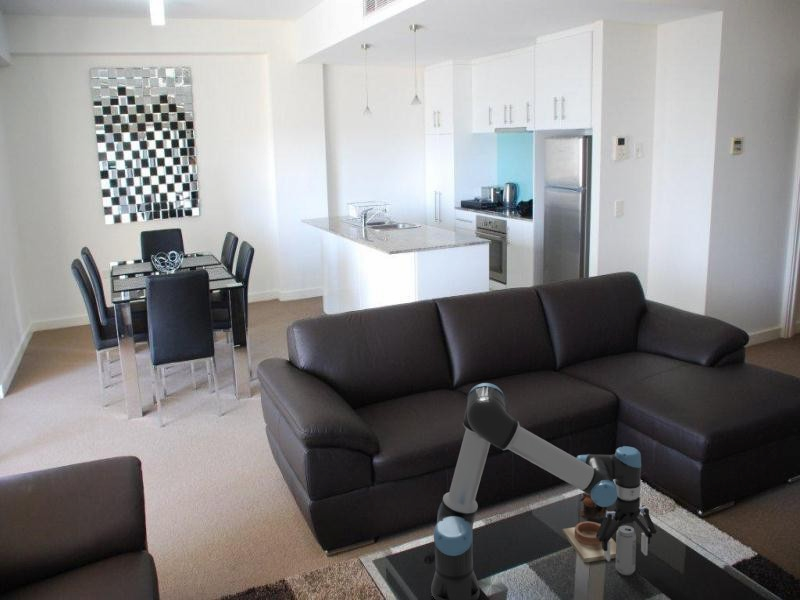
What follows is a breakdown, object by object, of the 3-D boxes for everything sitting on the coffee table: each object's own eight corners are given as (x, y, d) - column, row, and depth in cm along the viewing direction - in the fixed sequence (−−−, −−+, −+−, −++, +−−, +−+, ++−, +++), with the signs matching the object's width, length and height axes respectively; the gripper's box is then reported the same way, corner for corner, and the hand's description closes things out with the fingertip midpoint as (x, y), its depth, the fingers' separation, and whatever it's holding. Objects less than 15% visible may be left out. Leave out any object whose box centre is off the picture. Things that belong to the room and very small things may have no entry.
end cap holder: (584, 562, 227) (584, 550, 226) (562, 532, 245) (562, 521, 244) (623, 556, 229) (624, 544, 228) (599, 527, 247) (600, 516, 246)
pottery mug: (572, 514, 257) (576, 491, 259) (590, 517, 261) (593, 495, 263) (597, 520, 247) (600, 496, 249) (615, 523, 251) (618, 500, 253)
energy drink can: (616, 563, 226) (617, 522, 222) (635, 566, 224) (636, 525, 220) (614, 574, 221) (615, 532, 217) (634, 577, 218) (635, 535, 215)
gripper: (596, 506, 210) (595, 568, 216) (669, 496, 214) (666, 557, 219) (585, 494, 218) (585, 554, 223) (656, 484, 221) (654, 543, 226)
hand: (625, 555), depth 221 cm, fingers open, 12 cm apart
